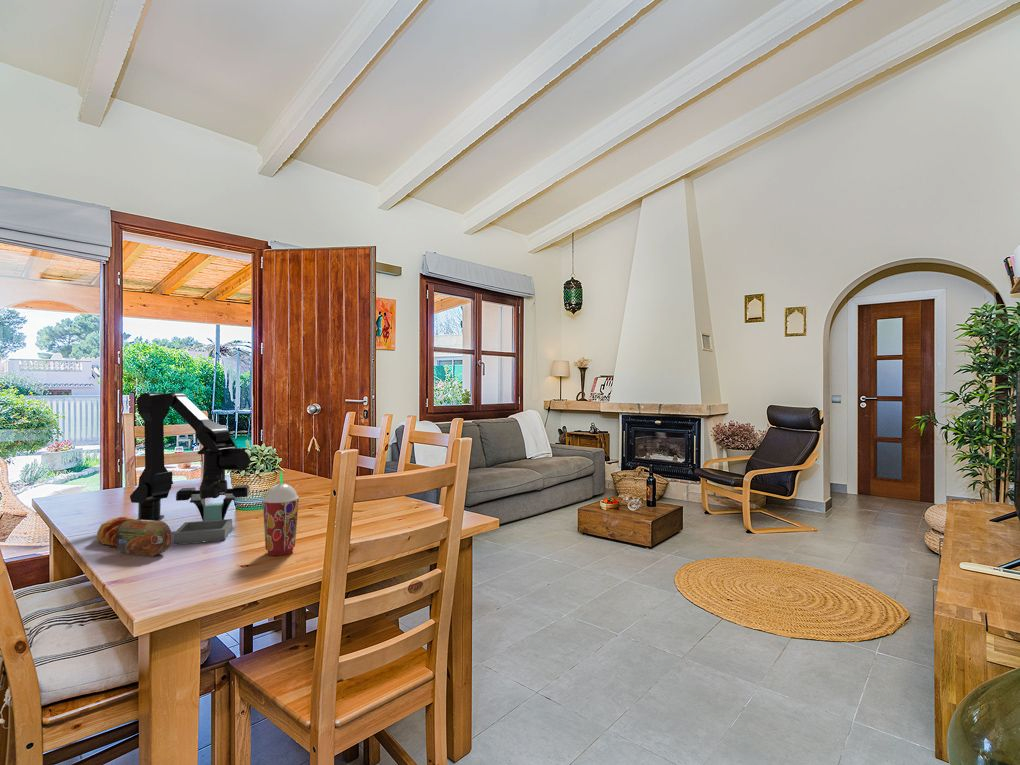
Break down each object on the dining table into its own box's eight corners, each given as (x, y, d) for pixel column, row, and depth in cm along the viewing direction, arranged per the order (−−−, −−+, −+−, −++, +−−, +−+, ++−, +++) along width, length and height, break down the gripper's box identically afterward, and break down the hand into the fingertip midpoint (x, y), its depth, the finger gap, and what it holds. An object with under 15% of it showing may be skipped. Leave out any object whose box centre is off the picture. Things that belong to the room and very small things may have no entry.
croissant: (103, 546, 146) (87, 523, 144) (142, 524, 152) (126, 502, 150) (111, 563, 131) (92, 538, 128) (154, 538, 137) (137, 513, 135)
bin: (184, 532, 148) (185, 522, 148) (232, 529, 152) (232, 519, 152) (173, 544, 136) (173, 533, 136) (224, 540, 140) (224, 529, 141)
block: (206, 523, 158) (206, 503, 158) (223, 522, 159) (223, 502, 159) (203, 527, 153) (203, 506, 154) (220, 525, 155) (220, 505, 155)
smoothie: (304, 552, 131) (305, 472, 131) (270, 560, 125) (272, 476, 125) (289, 545, 136) (290, 469, 137) (256, 552, 130) (257, 473, 131)
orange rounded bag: (113, 553, 129) (114, 519, 129) (125, 549, 132) (126, 516, 133) (162, 558, 126) (162, 523, 126) (173, 554, 129) (174, 520, 129)
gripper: (171, 475, 146) (170, 530, 146) (245, 471, 152) (244, 525, 152) (181, 469, 156) (180, 521, 156) (250, 466, 163) (249, 516, 162)
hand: (213, 521), depth 156 cm, fingers closed on block, 4 cm apart
